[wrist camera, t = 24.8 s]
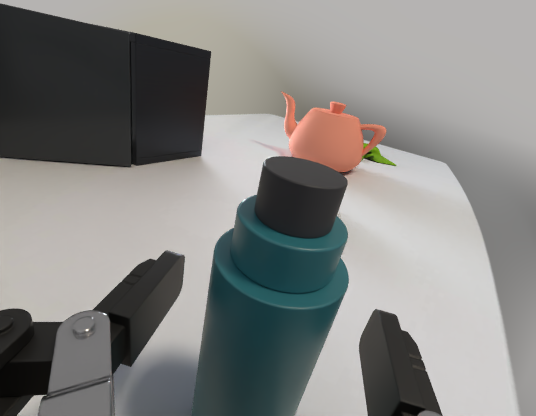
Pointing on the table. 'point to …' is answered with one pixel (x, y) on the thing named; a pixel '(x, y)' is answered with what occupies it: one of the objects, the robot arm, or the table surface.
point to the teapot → (329, 136)
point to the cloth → (376, 156)
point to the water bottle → (273, 292)
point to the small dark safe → (166, 99)
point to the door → (63, 89)
